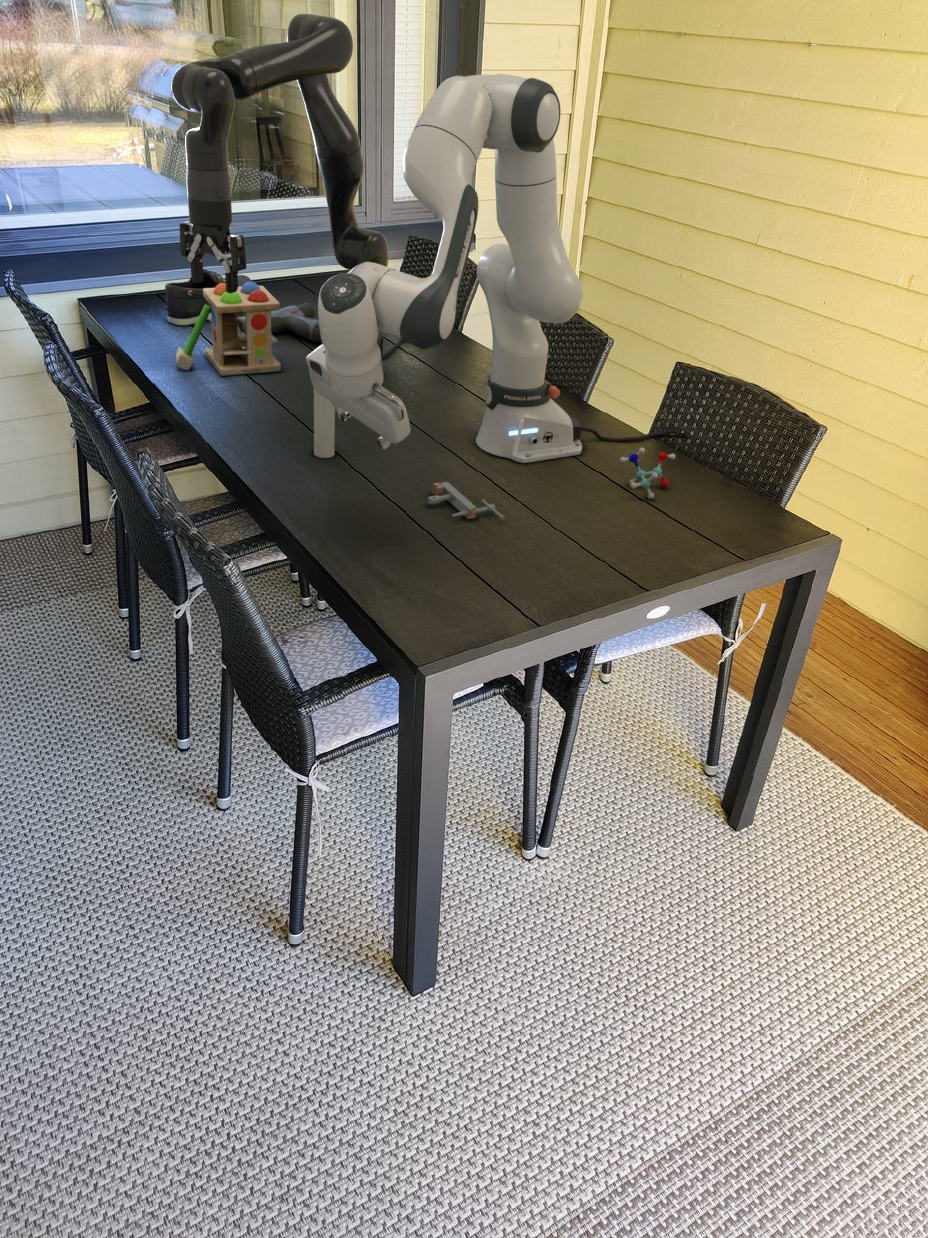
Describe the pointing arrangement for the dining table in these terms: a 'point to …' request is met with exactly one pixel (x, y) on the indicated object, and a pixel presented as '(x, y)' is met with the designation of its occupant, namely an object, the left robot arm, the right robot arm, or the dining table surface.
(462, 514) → the clamp
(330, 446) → the jar
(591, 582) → the dining table surface
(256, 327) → the pounding bench toy
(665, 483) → the molecular model
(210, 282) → the boat shoe
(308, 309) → the power drill
